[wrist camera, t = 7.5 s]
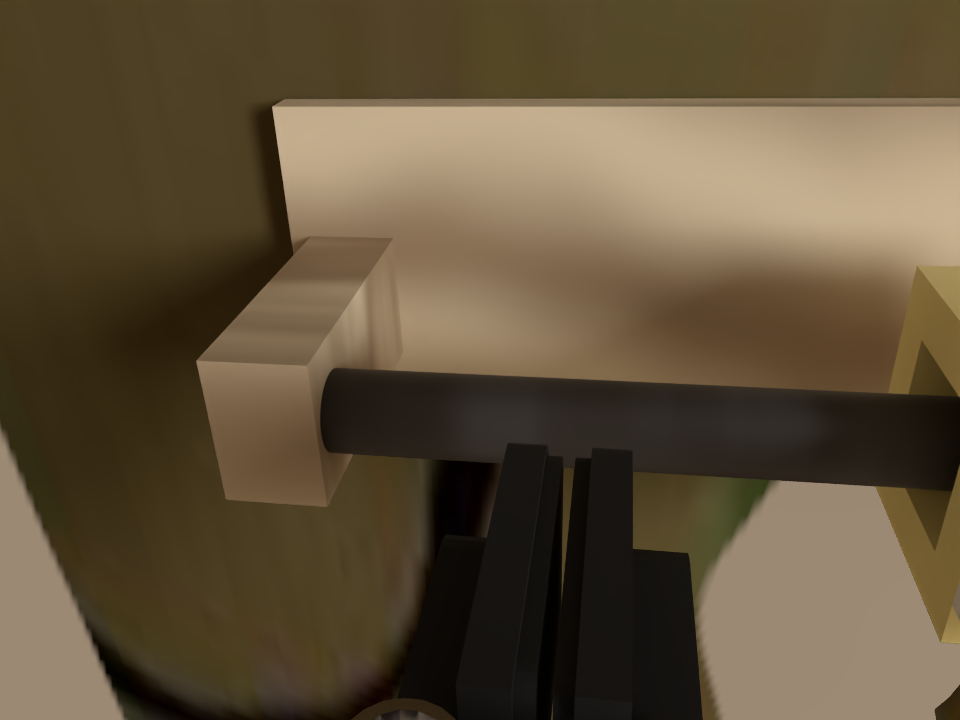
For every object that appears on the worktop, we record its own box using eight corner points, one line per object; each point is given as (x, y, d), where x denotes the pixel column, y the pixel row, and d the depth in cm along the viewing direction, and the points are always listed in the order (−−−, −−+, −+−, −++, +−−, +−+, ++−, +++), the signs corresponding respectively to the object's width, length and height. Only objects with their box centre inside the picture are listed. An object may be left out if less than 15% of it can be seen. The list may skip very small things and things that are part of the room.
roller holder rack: (284, 99, 20) (117, 199, 13) (1385, 97, 16) (1875, 230, 10) (330, 430, 24) (220, 628, 17) (1210, 480, 21) (1473, 746, 14)
